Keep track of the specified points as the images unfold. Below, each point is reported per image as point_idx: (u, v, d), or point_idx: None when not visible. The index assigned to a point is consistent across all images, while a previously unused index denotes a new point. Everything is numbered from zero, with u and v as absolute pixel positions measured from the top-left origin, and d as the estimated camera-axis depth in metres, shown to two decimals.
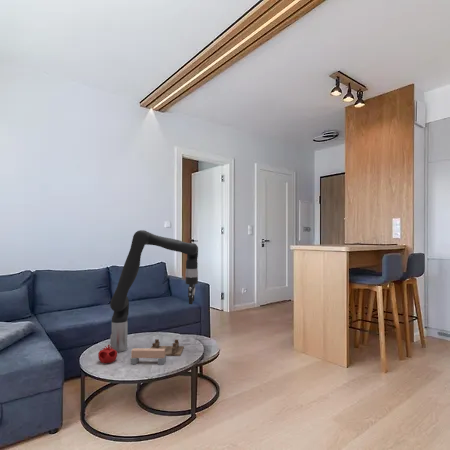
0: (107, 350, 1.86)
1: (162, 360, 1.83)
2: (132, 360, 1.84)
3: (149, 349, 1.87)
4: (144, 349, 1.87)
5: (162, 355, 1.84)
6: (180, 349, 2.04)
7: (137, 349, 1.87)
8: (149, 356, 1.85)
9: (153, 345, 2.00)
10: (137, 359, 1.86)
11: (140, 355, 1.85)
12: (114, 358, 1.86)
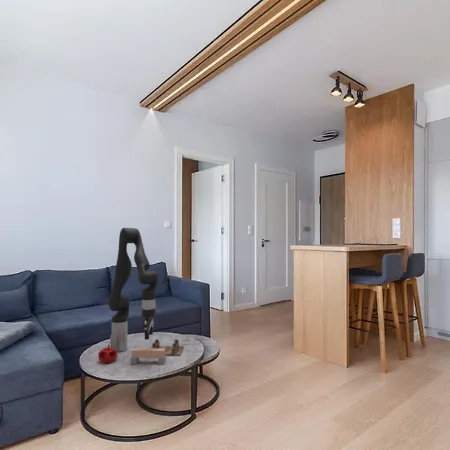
0: (107, 350, 1.86)
1: (162, 360, 1.83)
2: (132, 360, 1.84)
3: (149, 349, 1.87)
4: (144, 349, 1.87)
5: (162, 355, 1.84)
6: (180, 349, 2.04)
7: (137, 349, 1.87)
8: (149, 356, 1.85)
9: (153, 345, 2.00)
10: (137, 359, 1.86)
11: (140, 355, 1.85)
12: (114, 358, 1.86)
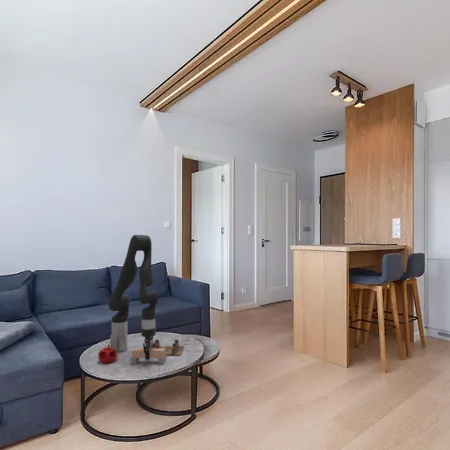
0: (107, 350, 1.86)
1: (162, 360, 1.83)
2: (132, 360, 1.84)
3: None
4: None
5: (162, 355, 1.84)
6: (180, 349, 2.04)
7: (137, 349, 1.87)
8: None
9: (153, 345, 2.00)
10: (137, 359, 1.86)
11: (140, 355, 1.85)
12: (114, 358, 1.86)
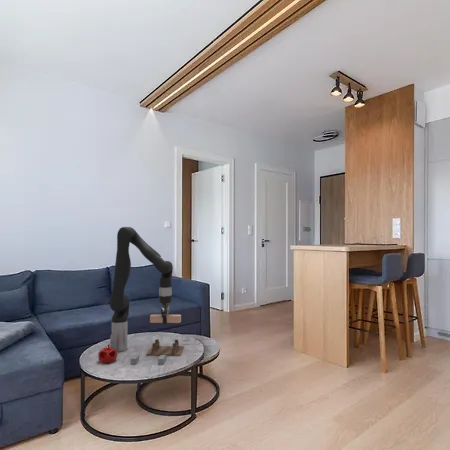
0: (107, 350, 1.86)
1: (162, 360, 1.83)
2: (132, 360, 1.84)
3: None
4: (161, 315, 2.04)
5: (178, 320, 2.01)
6: (180, 349, 2.04)
7: (155, 315, 2.04)
8: None
9: (153, 345, 2.00)
10: (137, 359, 1.86)
11: (158, 320, 2.02)
12: (114, 358, 1.86)
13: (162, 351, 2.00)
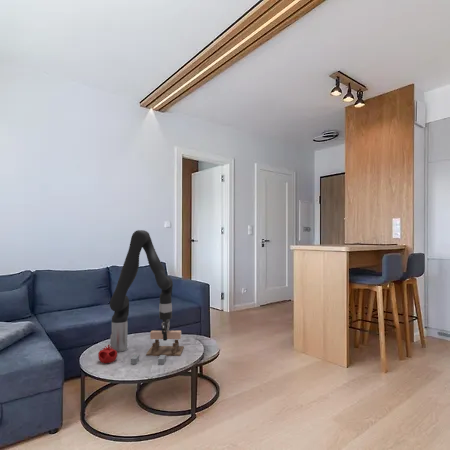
0: (107, 350, 1.86)
1: (162, 360, 1.83)
2: (132, 360, 1.84)
3: None
4: None
5: (178, 336, 2.01)
6: (180, 349, 2.04)
7: (155, 331, 2.04)
8: (167, 337, 2.02)
9: (153, 345, 2.00)
10: (137, 359, 1.86)
11: (158, 336, 2.02)
12: (114, 358, 1.86)
13: (162, 351, 2.00)
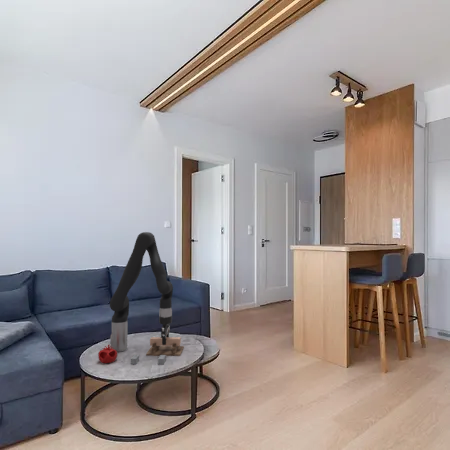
0: (107, 350, 1.86)
1: (162, 360, 1.83)
2: (132, 360, 1.84)
3: (166, 338, 2.03)
4: None
5: (178, 343, 2.01)
6: (180, 349, 2.04)
7: (155, 338, 2.03)
8: (166, 344, 2.02)
9: (153, 345, 2.00)
10: (137, 359, 1.86)
11: (158, 343, 2.02)
12: (114, 358, 1.86)
13: (162, 351, 2.00)
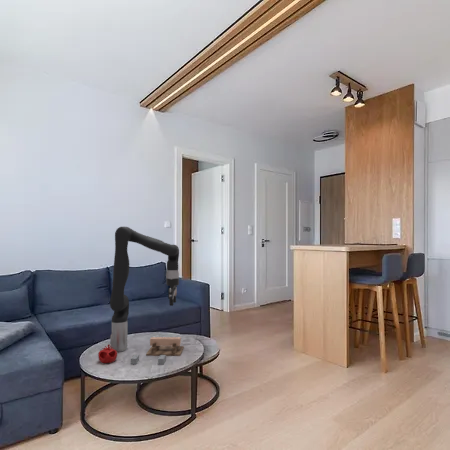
0: (107, 350, 1.86)
1: (162, 360, 1.83)
2: (132, 360, 1.84)
3: (166, 338, 2.03)
4: (162, 338, 2.04)
5: (178, 343, 2.01)
6: (180, 349, 2.04)
7: (155, 338, 2.03)
8: (166, 344, 2.02)
9: (153, 345, 2.00)
10: (137, 359, 1.86)
11: (158, 343, 2.02)
12: (114, 358, 1.86)
13: (162, 351, 2.00)
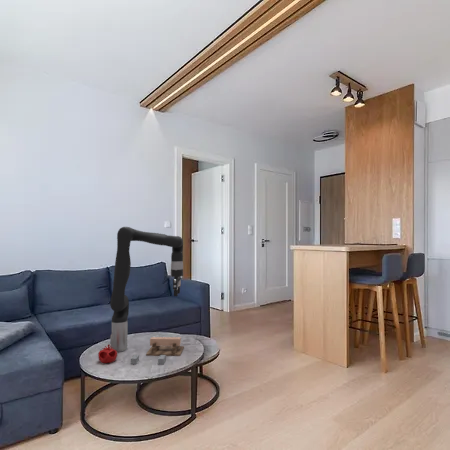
0: (107, 350, 1.86)
1: (162, 360, 1.83)
2: (132, 360, 1.84)
3: (166, 338, 2.03)
4: (162, 338, 2.04)
5: (178, 343, 2.01)
6: (180, 349, 2.04)
7: (155, 338, 2.03)
8: (166, 344, 2.02)
9: (153, 345, 2.00)
10: (137, 359, 1.86)
11: (158, 343, 2.02)
12: (114, 358, 1.86)
13: (162, 351, 2.00)
